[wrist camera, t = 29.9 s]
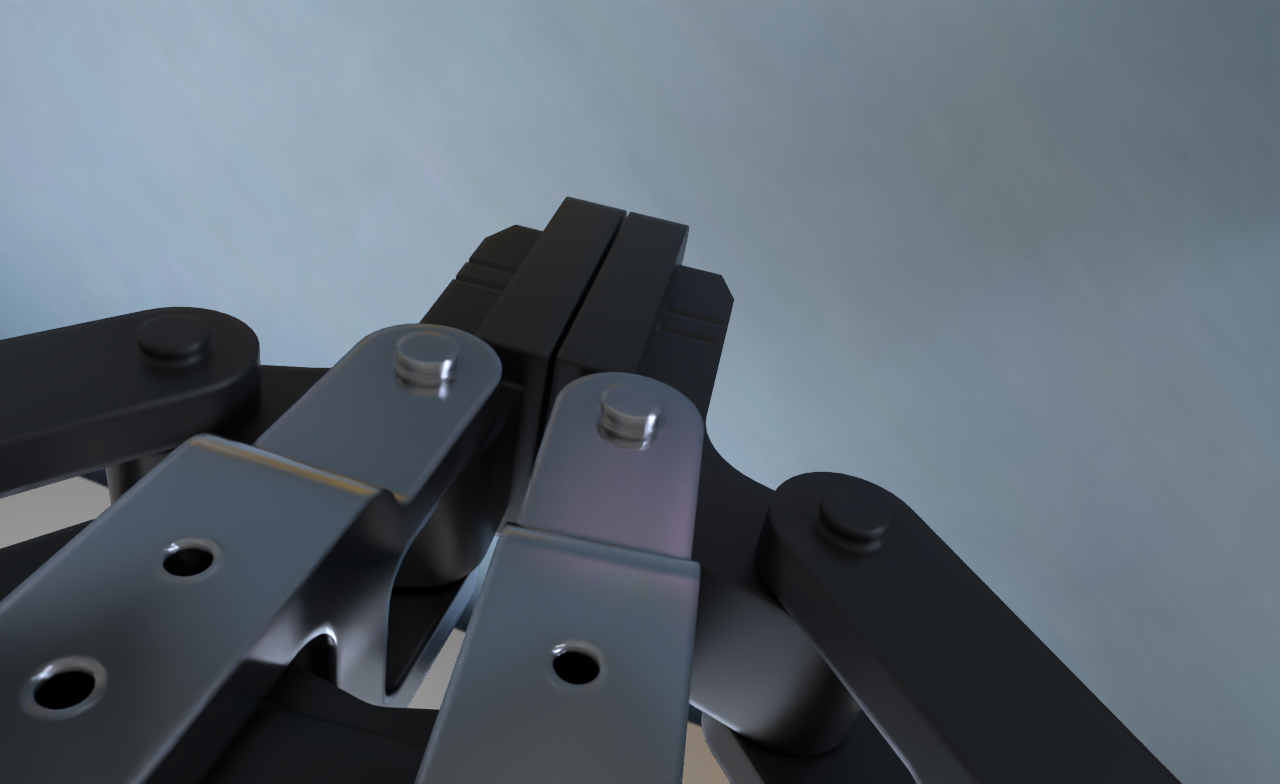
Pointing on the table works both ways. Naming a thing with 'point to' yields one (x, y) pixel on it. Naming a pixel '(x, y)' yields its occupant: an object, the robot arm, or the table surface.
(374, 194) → the table surface
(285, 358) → the table surface
